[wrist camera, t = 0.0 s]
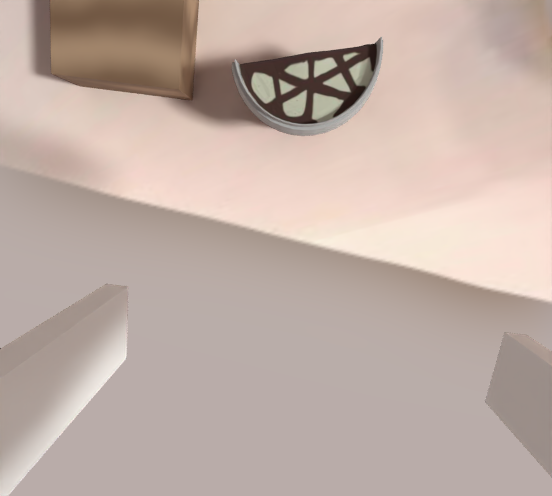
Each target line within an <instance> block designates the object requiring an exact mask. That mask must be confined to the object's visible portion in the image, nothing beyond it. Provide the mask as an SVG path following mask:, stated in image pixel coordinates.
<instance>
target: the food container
mask: <svg viewBox="0 0 552 496" xmlns="http://www.w3.org/2000/svg"><path fill="white" fill-rule="evenodd" d="M382 54H383V40H382V37H381V38H380V39H379V40H378V41H377V42H376V43H375V44H367V45H363V46H359V47H353V48H346V49H338V50H330V51H320V52H311V53H304V54H299V55H294V56H289V57H283V58H278V59H272V60H265V61H259V62H252V63H246V64H239V63H238V62H237V61H236V59H234V60H235V62H233V63H232V73H233V77H234V81H235V84H236V86H237V89H238V92H239V93H240V95H241V97H242V99H243V101H244V102H245V104H246V105H247V106H248V108H249V109H250V110H251V112H252V113H253V114H254V115H256V116H257V117H258V118H259V119H260V120H261V121H262V122H264V123H265V124H267V125H268V126H270V127H272V128H274V129H276V130H278V131H280V132H284V133H287V134H291V135H299V136H310V135H317V134H322V133H326V132H328V131H331V130H333V129H336V128H337V127H339V126H341V125H342V124H344V123H346V122H347V121H348V120H349V119H351V118H352V117H353V116H354V115H355V114H356V113H357V112H358V111H359V110H360V109H361V108H362V106H363V105H364V104H365V102H366V101H367V99H368V98H369V96H370V94H371V92H372V90H373V88H374V86H375V84H376V81H377V77H378V74H379V71H380V66H381V60H382Z"/></svg>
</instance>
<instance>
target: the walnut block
mask: <svg viewBox="0 0 552 496" xmlns="http://www.w3.org/2000/svg"><path fill="white" fill-rule="evenodd" d="M198 6H199V0H50V37H51V74H53V75H55V76H58V77H60V78H62V79H65V80H67V81H69V82H72V83H74V84H76V85H79V86H82V87H90V88H98V89H106V90H114V91H122V92H130V93H137V94H145V95H153V96H161V97H169V98H177V99H185V100H192V98H193V83H194V67H195V52H196V37H197V21H198Z"/></svg>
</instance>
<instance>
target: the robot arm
mask: <svg viewBox="0 0 552 496" xmlns="http://www.w3.org/2000/svg"><path fill="white" fill-rule="evenodd" d="M127 316H128V286H120V285H112V284H105V285H104V286H102V287H100V288H99V289H97V290H96V291H94V292H92V293H91V294H89V295H88V296H86V297H84V298H83V299H81V300H79V301H78V302H76V303H75V304H73V305H71V306H69V307H68V308H66V309H65V310H63V311H61V312H60V313H58V314H56V315H55V316H53V317H52V318H50V319H48V320H47V321H45V322H43V323H42V324H40V325H39V326H37V327H35V328H34V329H32V330H30V331H29V332H27V333H25V334H24V335H22V336H21V337H19V338H17V339H16V340H14V341H12V342H11V343H9V344H7V345H6V346H4V347H3V348H0V496H8V495H9V494H10V493H11V492H12V491H13V489H14V488H15V487H16V486H17V485H18V484H19V482H20V481H21V480H22V479H23V478H24V476H25V475H26V474H27V473H28V472H29V471H30V469H31V468H32V467H33V466H34V465H35V464H36V463H37V461H38V460H39V459H40V458H41V457H42V456H43V455H44V453H45V452H46V451H47V449H49V447H50V446H51V445H52V444H53V443H54V442H55V440H56V439H57V438H58V437H59V436H60V435H61V434H62V432H63V431H64V430H65V429H66V428H67V427H68V425H69V424H70V423H71V422H72V421H73V420H74V419H75V417H76V416H77V415H78V414H79V413H80V411H81V410H82V409H83V408H84V407H85V406H86V405H87V403H88V402H89V401H90V400H91V399H92V397H93V396H94V395H95V394H96V393H97V392H98V391H99V389H100V388H101V387H102V386H103V385H104V384H105V382H106V381H107V380H108V379H109V378H110V377H111V375H112V374H113V373H114V372H115V371H116V370H117V369H118V367H119V366H120V365H121V364H122V363H123V362H124V361H125V359H126V355H127ZM485 402H486V403H487V404H488V406H489V407H490V408H491V409H492V410H493V411H494V413H495V414H496V415H497V416H498V417H499V418H500V419H501V421H502V422H503V423H504V424H505V425H506V426H507V427H508V428H509V430H510V431H511V432H512V433H513V434H514V435H515V436H516V438H517V439H518V440H519V441H520V442H521V443H522V444H523V445H524V447H525V448H526V449H527V450H528V451H529V452H530V453H531V455H532V456H533V457H534V458H535V459H536V460H537V461H538V463H540V465H541V466H542V467H543V468H544V469H545V470H546V472H547V473H548V474H549V475H550V476H551V477H552V351H550V350H549V349H547V348H546V347H544V346H542V345H541V344H539V343H538V342H537V341H535V340H534V339H532V338H531V337H529V336H528V335H524V334H516V333H508V332H505V333H504V337H503V340H502V344H501V347H500V350H499V354H498V357H497V361H496V365H495V368H494V372H493V375H492V379H491V382H490V386H489V389H488V393H487V396H486V400H485Z"/></svg>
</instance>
